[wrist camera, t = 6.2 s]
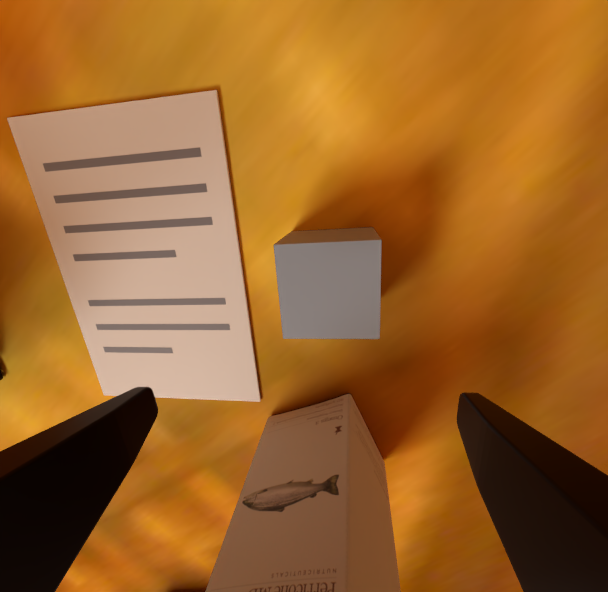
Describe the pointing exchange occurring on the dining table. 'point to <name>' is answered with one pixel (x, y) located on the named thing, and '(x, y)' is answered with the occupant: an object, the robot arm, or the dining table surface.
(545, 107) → the dining table surface
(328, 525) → the supplement box
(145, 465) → the dining table surface
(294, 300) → the cube
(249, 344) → the letter
